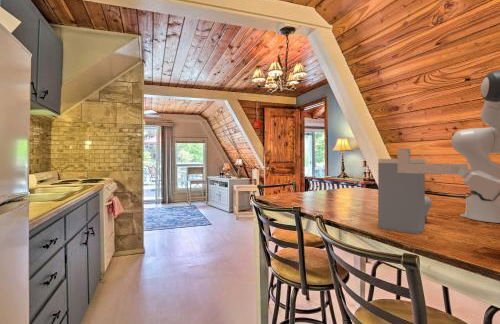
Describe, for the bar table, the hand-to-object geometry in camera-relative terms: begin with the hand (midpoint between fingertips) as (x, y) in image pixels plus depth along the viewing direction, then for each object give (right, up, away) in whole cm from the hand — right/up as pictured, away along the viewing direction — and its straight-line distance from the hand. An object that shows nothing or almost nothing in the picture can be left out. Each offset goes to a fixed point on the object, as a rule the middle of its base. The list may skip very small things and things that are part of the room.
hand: (453, 167), depth 81 cm
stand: (-4, -23, +21) cm, 32 cm away
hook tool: (-4, -2, +4) cm, 6 cm away
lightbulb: (+10, -23, +31) cm, 40 cm away
